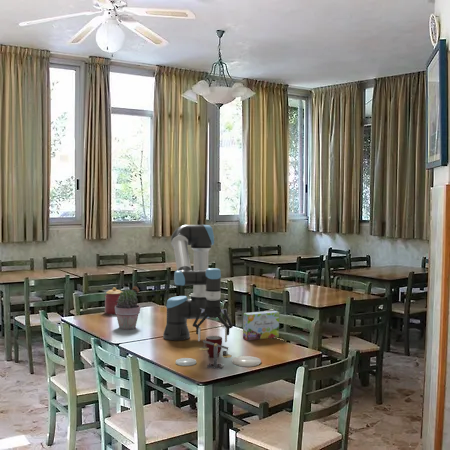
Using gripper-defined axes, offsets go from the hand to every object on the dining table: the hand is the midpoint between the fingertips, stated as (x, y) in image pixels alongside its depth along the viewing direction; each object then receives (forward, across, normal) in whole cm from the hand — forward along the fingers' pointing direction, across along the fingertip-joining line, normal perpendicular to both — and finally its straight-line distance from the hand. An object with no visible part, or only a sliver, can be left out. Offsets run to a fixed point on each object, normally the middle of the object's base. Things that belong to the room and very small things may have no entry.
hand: (212, 341), depth 290 cm
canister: (+6, -83, +98) cm, 129 cm away
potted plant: (+7, -61, +54) cm, 82 cm away
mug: (+8, 0, 0) cm, 8 cm away
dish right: (+8, +18, -6) cm, 21 cm away
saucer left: (+8, -11, -12) cm, 19 cm away
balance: (+8, +4, -16) cm, 19 cm away
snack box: (+8, +22, +44) cm, 50 cm away
